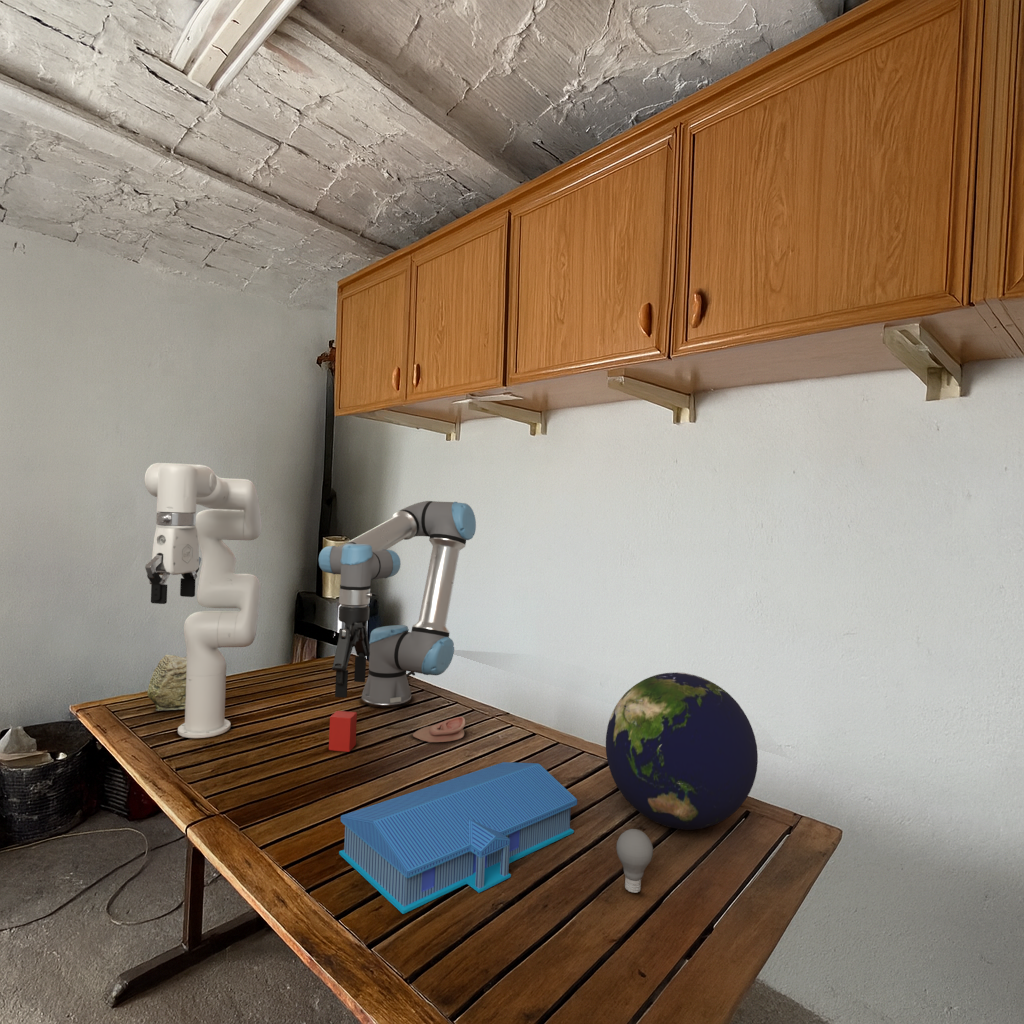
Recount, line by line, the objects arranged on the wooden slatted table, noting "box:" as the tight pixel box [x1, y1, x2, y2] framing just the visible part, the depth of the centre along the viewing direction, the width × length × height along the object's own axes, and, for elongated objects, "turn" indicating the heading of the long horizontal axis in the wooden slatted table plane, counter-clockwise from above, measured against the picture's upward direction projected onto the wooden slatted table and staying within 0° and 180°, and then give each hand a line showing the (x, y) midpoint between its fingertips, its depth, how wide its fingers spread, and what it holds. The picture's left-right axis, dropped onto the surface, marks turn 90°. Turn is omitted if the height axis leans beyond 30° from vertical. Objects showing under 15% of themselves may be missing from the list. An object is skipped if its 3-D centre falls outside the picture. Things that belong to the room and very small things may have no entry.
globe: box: [605, 671, 759, 831], centre depth 130 cm, size 30×30×30 cm
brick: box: [328, 710, 358, 753], centre depth 160 cm, size 5×5×8 cm
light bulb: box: [615, 828, 654, 894], centre depth 106 cm, size 6×6×10 cm
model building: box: [338, 761, 578, 915], centre depth 117 cm, size 39×24×10 cm, turn 132°
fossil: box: [147, 654, 187, 712], centre depth 185 cm, size 9×18×15 cm, turn 132°
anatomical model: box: [412, 716, 466, 743], centre depth 171 cm, size 13×4×12 cm
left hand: (173, 599), depth 137 cm, fingers open, 9 cm apart
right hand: (350, 689), depth 160 cm, fingers open, 13 cm apart
